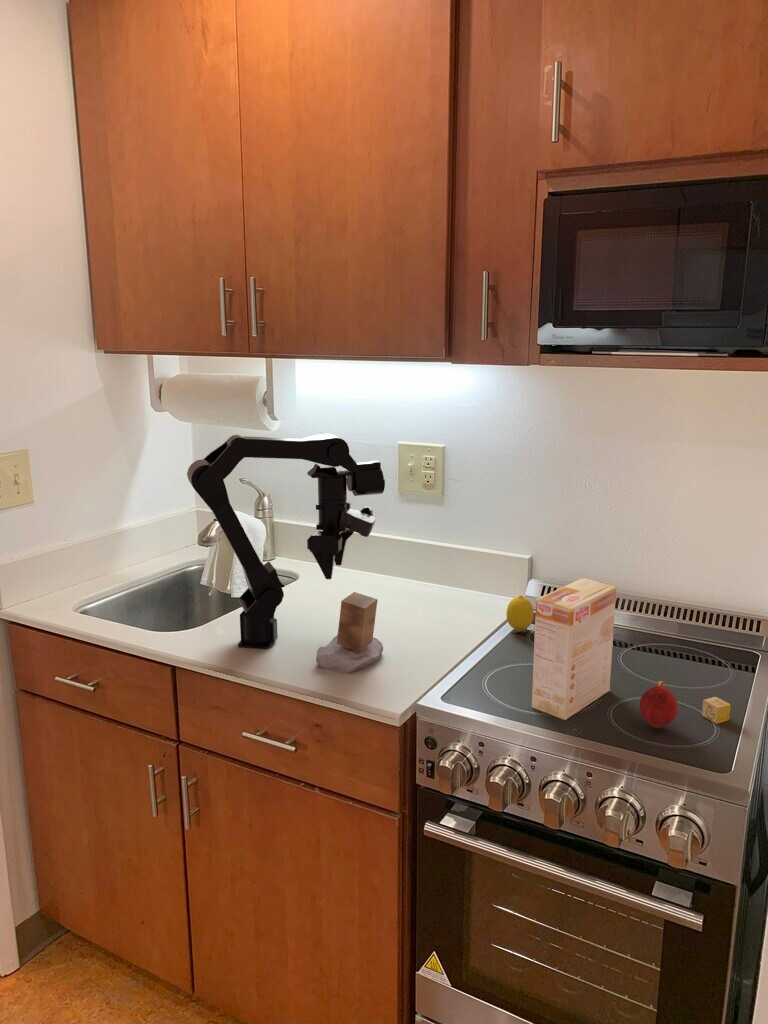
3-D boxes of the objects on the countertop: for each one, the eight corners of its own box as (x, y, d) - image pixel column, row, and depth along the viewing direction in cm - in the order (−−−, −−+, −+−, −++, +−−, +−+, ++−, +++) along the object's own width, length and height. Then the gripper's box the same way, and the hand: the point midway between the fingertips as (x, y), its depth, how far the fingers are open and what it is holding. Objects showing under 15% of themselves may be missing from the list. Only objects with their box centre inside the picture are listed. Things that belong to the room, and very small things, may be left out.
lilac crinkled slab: (386, 662, 160) (342, 643, 164) (390, 641, 158) (346, 623, 162) (356, 688, 150) (310, 668, 153) (360, 666, 148) (314, 646, 152)
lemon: (518, 639, 166) (520, 602, 164) (500, 630, 170) (501, 594, 168) (538, 633, 169) (540, 596, 167) (520, 624, 173) (521, 589, 171)
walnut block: (336, 643, 153) (341, 600, 150) (349, 633, 158) (354, 591, 155) (360, 652, 151) (365, 608, 148) (372, 641, 156) (377, 599, 153)
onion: (675, 740, 127) (679, 692, 125) (636, 733, 129) (640, 686, 127) (676, 722, 132) (680, 677, 130) (639, 716, 134) (643, 671, 132)
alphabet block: (714, 712, 136) (715, 695, 135) (729, 720, 133) (731, 703, 132) (700, 716, 134) (702, 699, 134) (716, 724, 132) (718, 707, 131)
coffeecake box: (575, 678, 148) (582, 576, 143) (611, 691, 143) (619, 586, 138) (529, 707, 137) (534, 598, 133) (565, 721, 133) (572, 608, 128)
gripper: (363, 510, 153) (363, 589, 156) (380, 489, 170) (380, 560, 174) (305, 508, 154) (307, 586, 158) (328, 487, 172) (329, 558, 176)
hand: (333, 572), depth 167 cm, fingers open, 9 cm apart
